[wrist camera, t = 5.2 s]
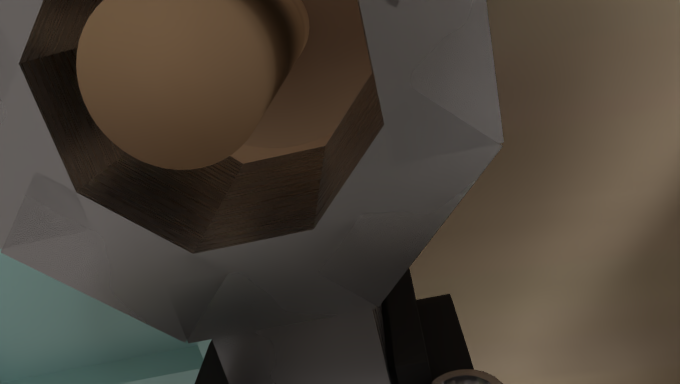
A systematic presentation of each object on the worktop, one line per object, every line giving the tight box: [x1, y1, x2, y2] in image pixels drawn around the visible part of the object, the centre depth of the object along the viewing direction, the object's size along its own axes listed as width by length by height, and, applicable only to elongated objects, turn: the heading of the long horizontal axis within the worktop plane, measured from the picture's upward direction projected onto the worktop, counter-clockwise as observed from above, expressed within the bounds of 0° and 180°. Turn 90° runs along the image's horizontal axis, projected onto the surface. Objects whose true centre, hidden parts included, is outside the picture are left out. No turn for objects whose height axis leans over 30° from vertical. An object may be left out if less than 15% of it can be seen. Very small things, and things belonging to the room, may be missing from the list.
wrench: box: [0, 0, 504, 384], centre depth 9 cm, size 12×6×4 cm, turn 13°
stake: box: [76, 0, 372, 170], centre depth 11 cm, size 8×8×11 cm
